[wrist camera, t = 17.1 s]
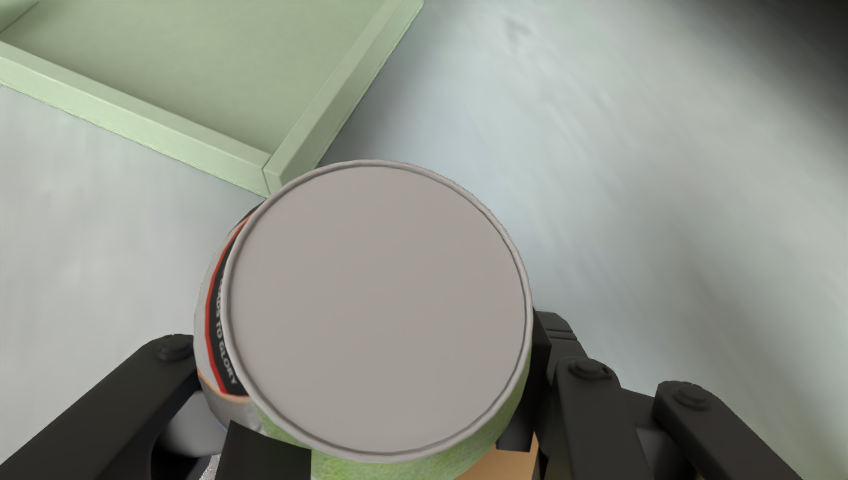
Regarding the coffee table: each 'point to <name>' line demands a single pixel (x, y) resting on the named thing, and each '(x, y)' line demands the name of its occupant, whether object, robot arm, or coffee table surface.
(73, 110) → the tray
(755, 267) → the coffee table surface
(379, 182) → the beverage can
